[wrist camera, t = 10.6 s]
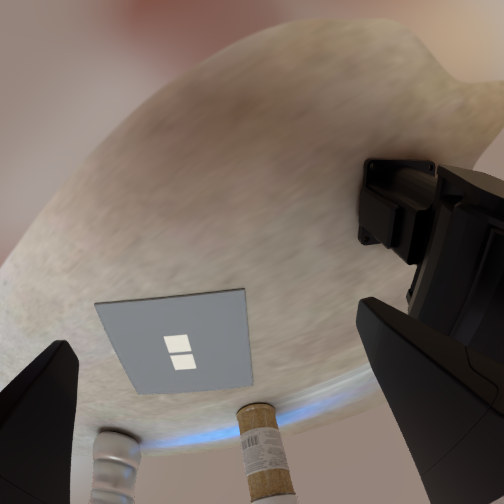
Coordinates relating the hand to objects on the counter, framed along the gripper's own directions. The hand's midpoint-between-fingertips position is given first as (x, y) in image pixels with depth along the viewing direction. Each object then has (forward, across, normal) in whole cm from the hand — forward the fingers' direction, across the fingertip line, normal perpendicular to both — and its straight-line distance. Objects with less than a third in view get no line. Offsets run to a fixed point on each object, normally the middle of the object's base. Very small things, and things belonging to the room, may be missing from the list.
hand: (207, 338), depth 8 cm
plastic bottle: (+12, +18, +29) cm, 37 cm away
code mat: (+12, +4, +13) cm, 18 cm away
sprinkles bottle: (+12, -1, +25) cm, 28 cm away
